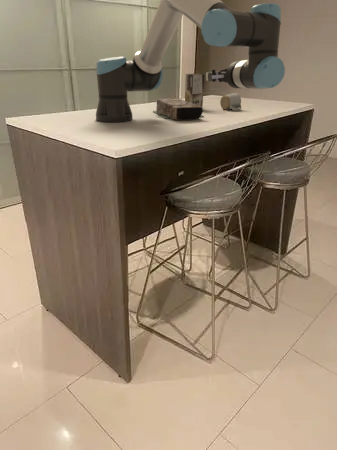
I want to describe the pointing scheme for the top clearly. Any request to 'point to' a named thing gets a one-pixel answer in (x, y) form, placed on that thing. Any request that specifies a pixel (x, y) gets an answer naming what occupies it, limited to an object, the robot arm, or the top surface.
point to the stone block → (178, 109)
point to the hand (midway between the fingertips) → (208, 76)
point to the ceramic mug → (231, 102)
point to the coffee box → (194, 89)
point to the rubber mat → (166, 116)
